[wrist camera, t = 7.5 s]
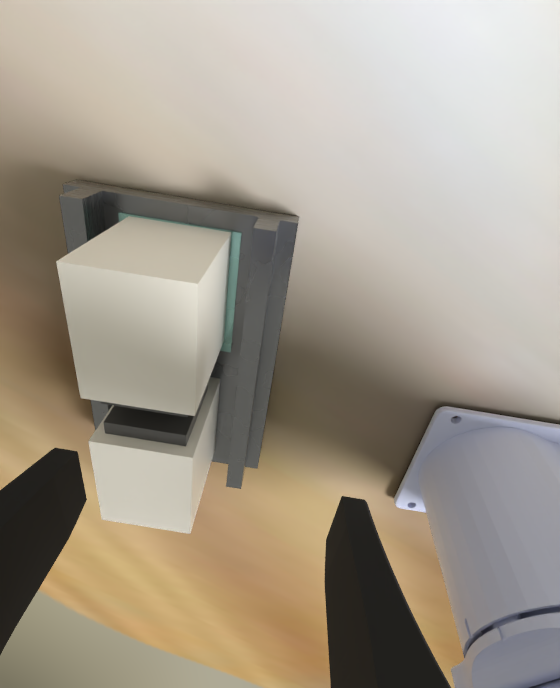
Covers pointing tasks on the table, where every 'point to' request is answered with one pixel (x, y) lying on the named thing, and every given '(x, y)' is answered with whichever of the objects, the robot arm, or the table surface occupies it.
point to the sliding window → (241, 308)
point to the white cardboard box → (147, 313)
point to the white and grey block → (154, 463)
